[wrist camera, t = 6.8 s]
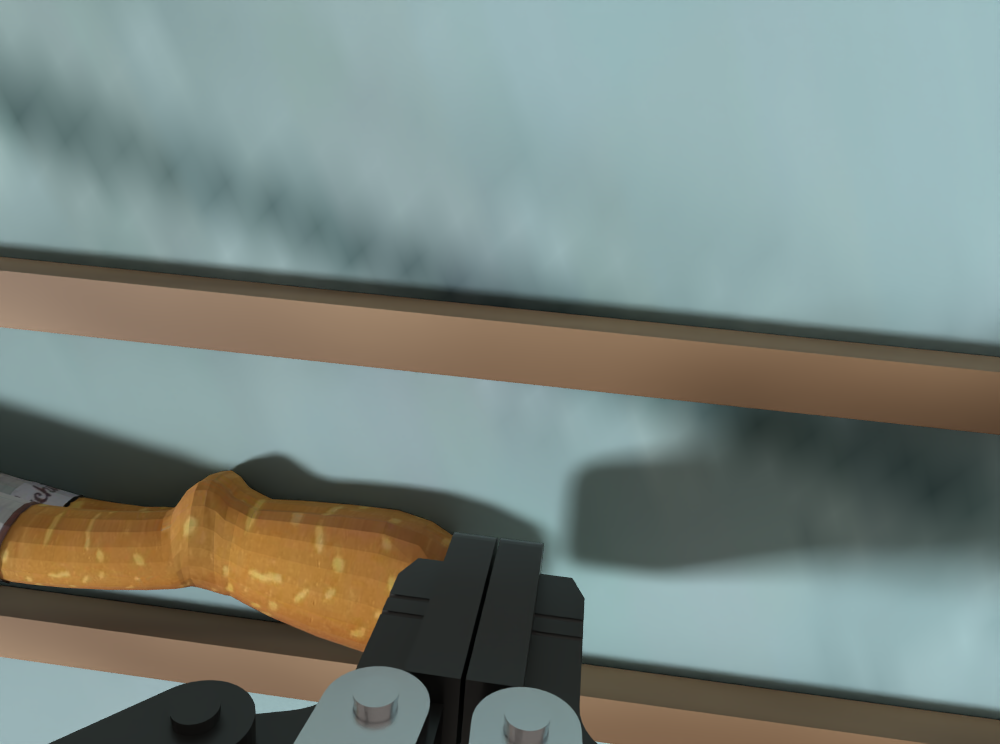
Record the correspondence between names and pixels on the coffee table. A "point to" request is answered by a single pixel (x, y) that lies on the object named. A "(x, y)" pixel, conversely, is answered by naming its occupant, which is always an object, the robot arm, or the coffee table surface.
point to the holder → (502, 357)
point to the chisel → (221, 550)
